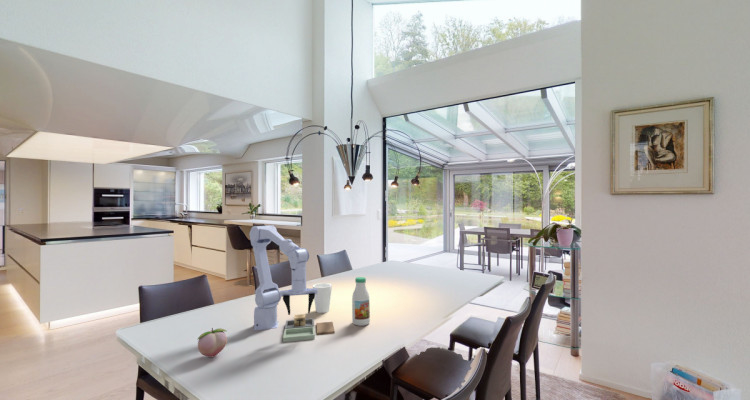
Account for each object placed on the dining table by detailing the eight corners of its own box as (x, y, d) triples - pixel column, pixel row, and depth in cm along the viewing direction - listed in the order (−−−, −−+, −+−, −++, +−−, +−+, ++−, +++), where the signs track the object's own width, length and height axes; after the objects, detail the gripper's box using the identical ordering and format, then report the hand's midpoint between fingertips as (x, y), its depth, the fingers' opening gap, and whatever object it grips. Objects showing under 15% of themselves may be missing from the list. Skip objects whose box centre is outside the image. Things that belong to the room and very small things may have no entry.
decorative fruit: (220, 348, 117) (220, 321, 117) (230, 355, 112) (230, 326, 112) (192, 358, 110) (192, 329, 110) (202, 365, 105) (202, 334, 105)
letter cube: (294, 329, 134) (294, 318, 134) (294, 325, 138) (294, 314, 138) (305, 328, 135) (305, 317, 135) (305, 324, 139) (305, 314, 139)
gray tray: (284, 333, 131) (284, 328, 131) (286, 325, 140) (286, 320, 140) (314, 330, 133) (314, 325, 133) (313, 322, 142) (313, 318, 142)
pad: (317, 335, 128) (317, 332, 128) (316, 325, 138) (316, 323, 138) (334, 334, 129) (334, 331, 129) (332, 324, 140) (332, 321, 140)
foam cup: (334, 308, 161) (333, 283, 162) (329, 315, 152) (329, 287, 152) (315, 308, 162) (315, 282, 163) (310, 314, 153) (310, 287, 153)
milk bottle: (349, 324, 139) (348, 278, 140) (358, 319, 146) (357, 275, 147) (364, 327, 136) (363, 280, 136) (372, 321, 143) (372, 276, 143)
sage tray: (283, 343, 121) (283, 337, 121) (284, 334, 130) (284, 329, 130) (314, 340, 124) (314, 334, 124) (314, 331, 132) (314, 326, 132)
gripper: (279, 282, 122) (279, 318, 122) (317, 280, 125) (317, 315, 125) (280, 278, 129) (280, 312, 128) (317, 276, 132) (317, 309, 131)
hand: (299, 313), depth 127 cm, fingers open, 7 cm apart
